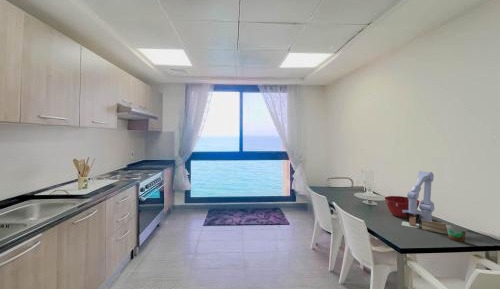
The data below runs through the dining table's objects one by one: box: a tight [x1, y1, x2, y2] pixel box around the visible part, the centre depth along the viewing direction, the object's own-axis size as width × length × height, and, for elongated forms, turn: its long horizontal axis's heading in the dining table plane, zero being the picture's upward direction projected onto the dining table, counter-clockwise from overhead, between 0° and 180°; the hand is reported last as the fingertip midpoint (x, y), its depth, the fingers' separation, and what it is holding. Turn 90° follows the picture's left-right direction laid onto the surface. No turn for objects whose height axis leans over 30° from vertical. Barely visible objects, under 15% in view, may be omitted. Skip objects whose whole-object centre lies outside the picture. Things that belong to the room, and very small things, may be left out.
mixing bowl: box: [384, 195, 421, 219], centre depth 234 cm, size 28×28×16 cm
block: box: [409, 216, 416, 226], centre depth 206 cm, size 4×4×6 cm
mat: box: [400, 221, 420, 229], centre depth 207 cm, size 12×12×1 cm
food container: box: [446, 222, 468, 243], centre depth 176 cm, size 12×6×10 cm, turn 21°
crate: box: [421, 220, 451, 235], centre depth 197 cm, size 13×18×4 cm
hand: (412, 222), depth 206 cm, fingers closed on block, 4 cm apart
